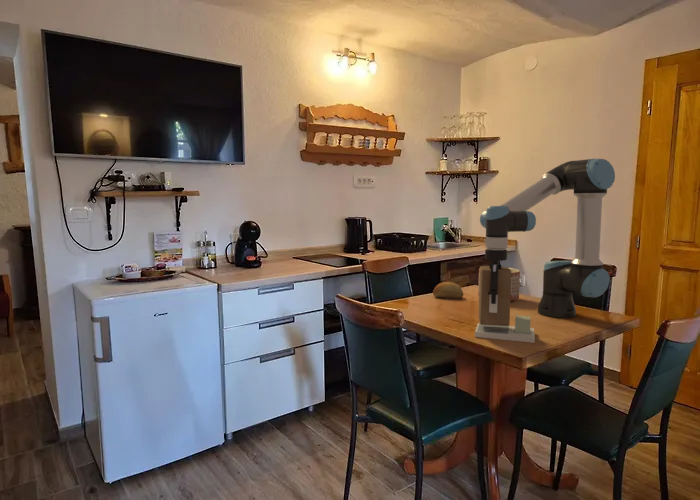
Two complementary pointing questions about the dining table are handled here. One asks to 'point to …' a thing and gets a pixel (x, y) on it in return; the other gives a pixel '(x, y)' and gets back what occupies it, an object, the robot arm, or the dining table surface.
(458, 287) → the bread roll
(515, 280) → the planter
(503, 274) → the wooden block
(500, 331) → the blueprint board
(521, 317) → the sage cube
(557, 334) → the dining table surface
